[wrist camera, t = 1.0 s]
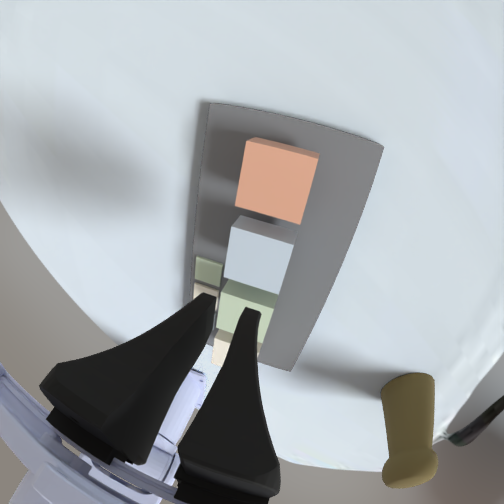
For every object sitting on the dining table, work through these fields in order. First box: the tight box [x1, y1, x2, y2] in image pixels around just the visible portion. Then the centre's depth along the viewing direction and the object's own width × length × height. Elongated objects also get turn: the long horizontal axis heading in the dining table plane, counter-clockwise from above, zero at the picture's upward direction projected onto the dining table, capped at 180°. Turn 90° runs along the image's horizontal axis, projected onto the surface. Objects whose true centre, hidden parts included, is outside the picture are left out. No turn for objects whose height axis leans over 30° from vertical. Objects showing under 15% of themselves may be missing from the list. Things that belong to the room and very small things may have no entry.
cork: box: [381, 373, 438, 488], centre depth 18 cm, size 6×6×11 cm
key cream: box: [211, 329, 262, 367], centre depth 21 cm, size 3×3×2 cm
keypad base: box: [190, 103, 384, 372], centre depth 19 cm, size 20×10×1 cm, turn 169°
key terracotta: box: [235, 137, 320, 225], centre depth 14 cm, size 3×3×2 cm
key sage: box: [216, 279, 278, 343], centre depth 19 cm, size 3×3×2 cm
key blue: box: [223, 215, 298, 295], centre depth 16 cm, size 3×3×2 cm
